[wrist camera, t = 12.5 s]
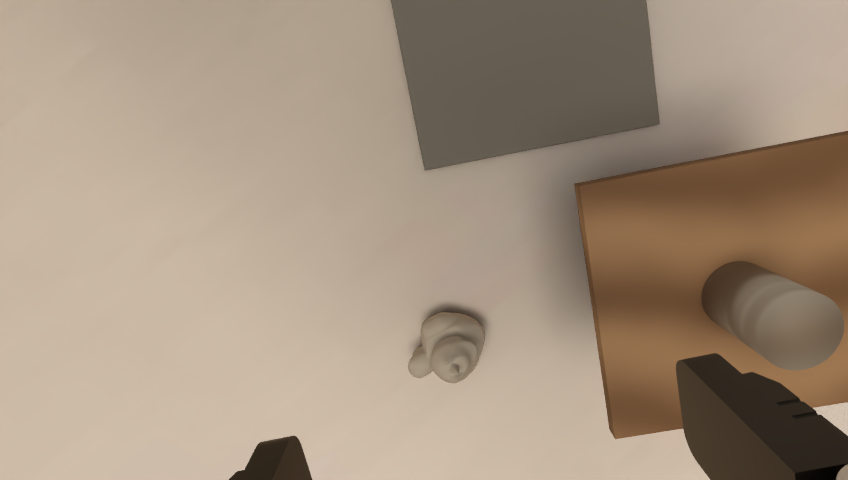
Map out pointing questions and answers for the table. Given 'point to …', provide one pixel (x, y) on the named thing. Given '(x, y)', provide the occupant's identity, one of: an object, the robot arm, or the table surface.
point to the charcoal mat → (523, 73)
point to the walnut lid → (720, 275)
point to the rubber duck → (448, 347)
